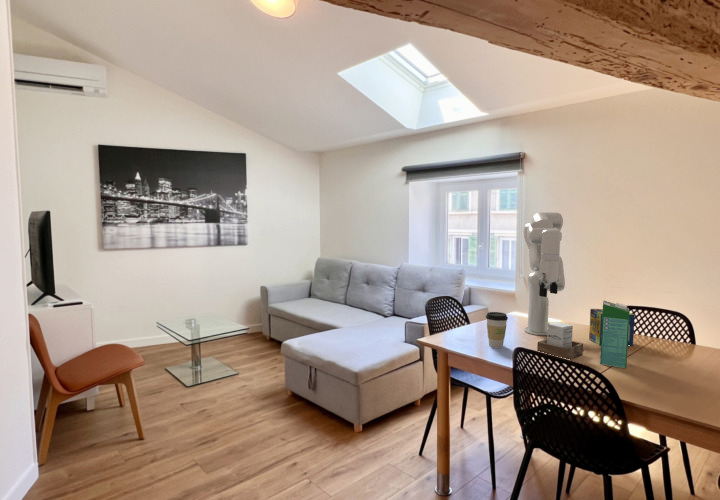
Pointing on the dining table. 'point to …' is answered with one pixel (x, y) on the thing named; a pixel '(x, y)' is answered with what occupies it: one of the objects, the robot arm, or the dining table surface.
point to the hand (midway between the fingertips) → (548, 294)
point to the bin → (561, 349)
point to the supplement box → (560, 335)
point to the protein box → (596, 326)
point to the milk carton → (614, 334)
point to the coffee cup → (496, 328)
